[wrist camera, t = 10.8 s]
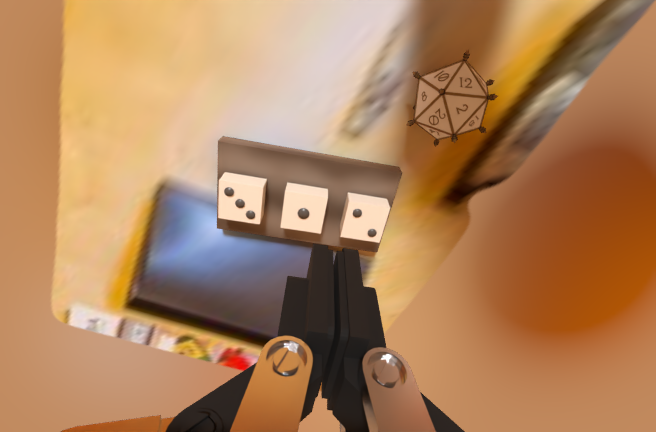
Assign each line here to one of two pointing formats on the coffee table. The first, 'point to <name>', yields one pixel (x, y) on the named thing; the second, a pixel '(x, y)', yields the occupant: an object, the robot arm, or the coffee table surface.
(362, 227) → the two pip cube
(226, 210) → the three dot tile
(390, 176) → the brown board
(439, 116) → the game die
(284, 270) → the coffee table surface
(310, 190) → the single pip block
